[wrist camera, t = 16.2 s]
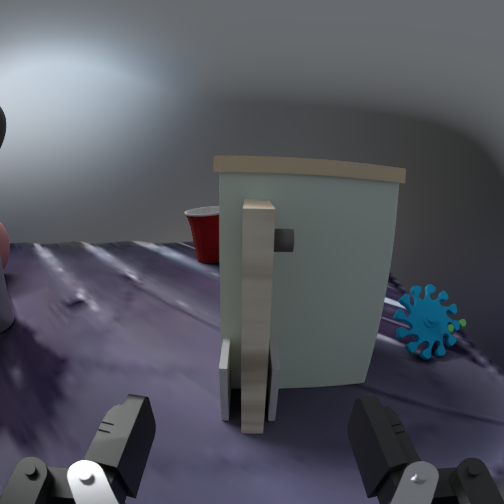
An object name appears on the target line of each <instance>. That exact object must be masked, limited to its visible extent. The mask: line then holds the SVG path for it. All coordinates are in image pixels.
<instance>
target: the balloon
mask: <svg viewBox="0 0 504 504" xmlns="http://www.w3.org/2000/svg"><path fill="white" fill-rule="evenodd" d="M9 252H10V244H9V238H8V234H7V232H6V230H5V228H4V226H3V225H2V223H1V222H0V257H1V262H2V268H3V269H4V268H5V266H6V264H7V261H8V258H9Z"/></svg>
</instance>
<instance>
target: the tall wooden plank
mask: <svg viewBox="0 0 504 504" xmlns="http://www.w3.org/2000/svg"><path fill="white" fill-rule="evenodd" d="M293 249H294V230H293V229H275V208H274V206H273V205H272V203H271V202H270V200H269V199H245V201H244V205H243V225H242V315H241V433H247V434H263V428H264V414H265V400H266V386H267V370H268V354H269V337H270V319H271V300H272V279H273V256H274V252H293Z"/></svg>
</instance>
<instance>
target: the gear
mask: <svg viewBox="0 0 504 504" xmlns="http://www.w3.org/2000/svg"><path fill="white" fill-rule="evenodd" d="M434 291H435V287H434V286H433V285H430V284H428V285H427V286H426V287H425V297H424V299H423V300H421V299H420V298H419V294H420V292H421V287H420V286H413V287H412V288H411V290H410V292H411V294H412V295H413V298H414V306H411V305H410V297H409V295H408V294H405V295H403V296H402V297H401V298H400V299H399V303H400V304H401V305H403V306H404V307H405V308H406V309H407V311H408V313H409V318H408V317H406V316H405V314H404V311H403V310H401V309H398V310H397V311H396V312H395V314H394V320H396V321H402V322H405V323H406V324H407V325H408V326H409V327H410V331H408V330H406V329H405V328H404V327H400V328H398V329H397V331H396V334H397V338H398V339H401V338H403V337H405V336H414V337H416V342H410V343H408V344H407V345H406V346H405V348H406V350H407V351H408V353H409V354H411V353H413V352H415V351H416V349H417V347H418V345H419V344H420V343H422V342H424V343H426V345H427V347H426V349H425V350H423V351H422V352H421V353H420V357H421V358H422V359H424V360H428V359H429V358H430V357H431V348H432V345H433V344H434V342H436V343H437V345H438V346H437V349H436V350H435V356H436V357H440V356H443V355H445V354H446V350H445V348H444V346H443V336H445V337H446V345H447V346H448V347H450V346H452V345H454V344H455V342H456V341H457V340H456V338H455V337H454V336H453V334H454V333H455V332H456V331H457V330H458V329H460V328H462V327H464V326H465V325H466V321H465V320H464V319H462V320H460V321H454V320H451V319H450V318H449V317H448V316H447V315H446V312H447V313H449V314H450V315H454V314H455V313H457V308H456V305H455V304H452V305H451V306H449V307H443V306H441V305H440V303H439V302H444V301H445V300H447V299H448V295H447V294H446V292H445V291H442V292H441V293H440V294H439V295H438V298H437V299H436V300H431V299H430V295H431V294H432V293H433V292H434Z"/></svg>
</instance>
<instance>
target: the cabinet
mask: <svg viewBox="0 0 504 504" xmlns="http://www.w3.org/2000/svg"><path fill="white" fill-rule="evenodd" d="M214 172H220V181H219V182H220V183H219V265H220V318H221V350H222V351H221V358H220V365H219V380H220V398H221V414H222V420H229V411H230V398H231V388H238V389H241V315H242V225H243V205H244V201H245V199H269V200H270V202H271V203H272V205H273V206H274V208H275V229H293V230H294V249H293V252H274V256H273V279H272V300H271V319H270V337H269V354H268V370H267V386H266V397H267V411H268V421H275V418H276V409H277V399H278V389H283V388H309V387H325V386H337V385H348V384H358V383H364V382H365V379H366V375H367V372H368V368H369V364H370V361H371V357H372V353H373V349H374V345H375V341H376V337H377V332H378V328H379V324H380V319H381V314H382V309H383V304H384V299H385V294H386V288H387V283H388V277H389V270H390V264H391V257H392V250H393V242H394V234H395V224H396V214H397V202H398V188H399V183H405V175H406V169H403V168H396V167H388V166H381V165H373V164H364V163H354V162H344V161H333V160H321V159H307V158H289V157H266V156H265V157H264V156H214Z"/></svg>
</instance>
